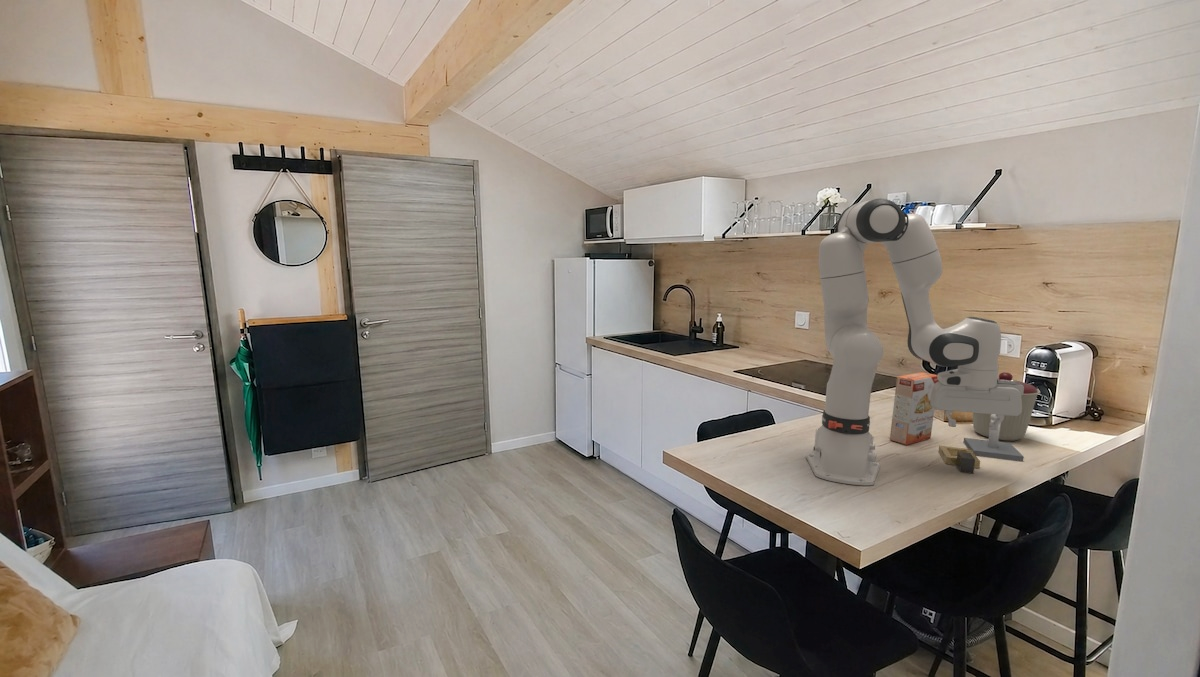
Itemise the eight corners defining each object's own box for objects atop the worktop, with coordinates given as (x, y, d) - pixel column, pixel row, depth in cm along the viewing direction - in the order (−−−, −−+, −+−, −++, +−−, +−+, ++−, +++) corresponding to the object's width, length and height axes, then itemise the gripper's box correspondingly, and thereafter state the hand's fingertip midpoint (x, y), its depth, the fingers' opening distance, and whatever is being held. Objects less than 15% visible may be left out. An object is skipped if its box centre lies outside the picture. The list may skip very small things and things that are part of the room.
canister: (1048, 444, 168) (1058, 378, 165) (997, 446, 165) (1006, 379, 162) (997, 425, 186) (1005, 366, 182) (951, 428, 183) (958, 367, 180)
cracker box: (907, 446, 165) (915, 379, 161) (888, 440, 170) (895, 375, 166) (932, 438, 172) (940, 374, 169) (913, 433, 177) (920, 371, 174)
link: (938, 451, 160) (939, 439, 160) (970, 455, 157) (971, 442, 157) (949, 470, 147) (951, 456, 146) (984, 475, 144) (986, 460, 143)
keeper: (1023, 461, 154) (1028, 421, 152) (973, 455, 158) (978, 415, 156) (1009, 447, 164) (1014, 409, 163) (963, 442, 169) (967, 405, 167)
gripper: (1020, 378, 142) (1015, 428, 144) (931, 373, 150) (927, 421, 152) (1028, 383, 137) (1023, 435, 139) (935, 378, 144) (931, 427, 146)
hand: (972, 428), depth 145 cm, fingers open, 8 cm apart
